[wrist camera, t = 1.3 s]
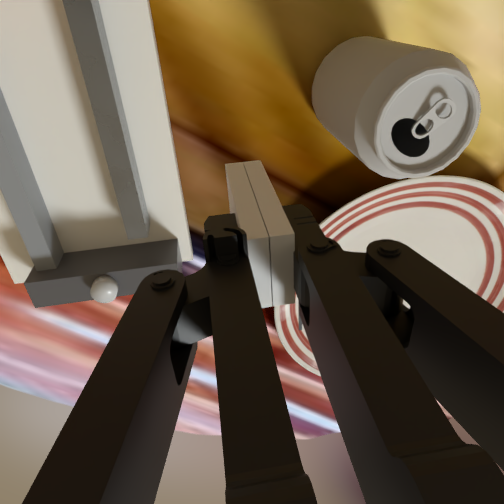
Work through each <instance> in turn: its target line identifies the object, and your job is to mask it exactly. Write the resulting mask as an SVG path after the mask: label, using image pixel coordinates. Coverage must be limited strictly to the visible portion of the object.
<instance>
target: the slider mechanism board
mask: <svg viewBox="0 0 504 504" xmlns="http://www.w3.org/2000/svg"><path fill="white" fill-rule="evenodd" d="M98 1H99V5H100V9H101V14H102V18H103V22H104V26H105V31H106V35H107V39H108V44H109V48H110V52H111V56H112V61H113V65H114V69H115V74H116V78H117V82H118V86H119V91H120V95H121V99H122V104H123V108H124V112H125V116H126V121H127V125H128V129H129V134H130V138H131V142H132V147H133V151H134V155H135V159H136V164H137V168H138V172H139V177H140V181H141V185H142V189H143V194H144V198H145V202H146V207H147V211H148V215H149V219H150V229H149V235H148V237H146V238H138V239H130V240H128V238H127V234H126V230H125V227H124V223H123V219H122V216H121V212H120V209H119V205H118V201H117V198H116V194H115V190H114V187H113V183H112V179H111V176H110V172H109V169H108V165H107V161H106V158H105V154H104V150H103V147H102V143H101V139H100V136H99V132H98V129H97V125H96V121H95V118H94V114H93V110H92V107H91V103H90V99H89V96H88V92H87V88H86V85H85V81H84V78H83V74H82V70H81V67H80V63H79V59H78V56H77V52H76V48H75V45H74V41H73V38H72V34H71V30H70V27H69V23H68V19H67V16H66V12H65V8H64V5H63V1H62V0H0V255H1V257H2V259H3V261H4V263H5V265H6V267H7V269H8V271H9V273H10V275H11V277H12V279H13V281H14V283H15V284H16V283H24V285H25V287H26V289H27V292H28V294H29V296H30V298H31V300H32V302H33V304H34V306H35V308H38V307H45V306H52V305H59V304H67V303H74V302H81V301H88V300H95V301H97V302H100V303H109V302H112V301H113V300H114V299H115V298H116V297H117V296H125V295H132V294H135V292H136V290H137V288H138V286H139V284H140V283H141V281H142V280H143V279H144V278H145V277H146V276H148V275H149V274H151V273H153V272H156V271H159V270H167V269H170V270H177V271H179V272H181V273H182V261H190V260H193V250H192V244H191V239H190V233H189V227H188V222H187V216H186V210H185V204H184V199H183V193H182V187H181V181H180V176H179V170H178V164H177V159H176V153H175V147H174V141H173V136H172V130H171V124H170V118H169V113H168V107H167V101H166V96H165V90H164V84H163V78H162V73H161V67H160V61H159V56H158V50H157V44H156V38H155V33H154V27H153V21H152V15H151V10H150V4H149V0H98Z"/></svg>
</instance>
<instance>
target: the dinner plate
mask: <svg viewBox="0 0 504 504" xmlns="http://www.w3.org/2000/svg"><path fill="white" fill-rule="evenodd" d="M319 226H320V228H321V230H322V231H323V233H324V235H325V236H326V237H327V238H331V239H333V240H335V241H336V242H337V243H338V244H339V245H340V246H341V248H342V249H343V250H344V251H350V252H364V253H366V248H367V246H368V245H369V243H371V242H373V241H375V240H381V239H391V240H395V241H399V242H401V243H403V244H405V245H407V246H409V247H410V248H411V249H413V250H414V251H416V252H417V253H419V254H420V255H421V256H423V257H424V258H426V259H427V260H429V261H430V262H431V263H433V264H434V265H436V266H437V267H439V268H440V269H441V270H443V271H444V272H446V273H447V274H449V275H450V276H451V277H453V278H454V279H456V280H457V281H459V282H460V283H462V284H463V285H464V286H466V287H467V288H469V289H470V290H472V291H473V292H474V293H476V294H477V295H479V296H480V297H482V298H483V299H484V300H486V301H487V302H489V303H490V304H492V305H493V306H494V307H496V308H497V309H499V310H500V311H502V312H503V313H504V192H502V191H501V190H499V189H498V188H496V187H494V186H492V185H490V184H488V183H485V182H483V181H479V180H476V179H472V178H467V177H461V176H448V175H438V176H424V177H418V178H411V179H407V180H402V181H398V182H395V183H392V184H388V185H385V186H383V187H380V188H377V189H375V190H373V191H370V192H368V193H366V194H364V195H362V196H360V197H358V198H356V199H355V200H353V201H351V202H349V203H347V204H346V205H344V206H343V207H341V208H340V209H338V210H337V211H335V212H334V213H333V214H331V215H330V216H329V217H327V218H326V219H325V220H324V221H322V222H321V223H320V224H319ZM403 304H404V305H405V306H406V307H407V308H409V309H410V305H409V304H408V303H407V302H406V301H405V300H404V299H403ZM274 319H275V326H276V329H277V333H278V336H279V338H280V341H281V343H282V344H283V346H284V348H285V349H286V351H287V352H288V353H289V354H290V356H291V357H292V358H293V359H294V360H295V361H296V362H297V363H299V364H300V365H301V366H302V367H304V368H305V369H307V370H309V371H310V372H312V373H314V374H316V375H318V376H321V375H320V372H319V369H318V366H317V363H316V360H315V358H314V355H313V352H312V349H311V346H310V344H309V341H308V338H307V335H306V332H305V329H304V327H303V324H302V330H299V320H298V297H297V295H296V292H295V303H294V304H287V305H280V306H274Z"/></svg>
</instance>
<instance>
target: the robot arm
mask: <svg viewBox="0 0 504 504" xmlns="http://www.w3.org/2000/svg"><path fill="white" fill-rule="evenodd" d="M225 167H226V177H227V186H228V195H229V205H230V214H223V215H215V216H209V217H208V218H207V220H206V221H205V223H204V230H205V235H204V237H203V245H204V252H205V258H206V264H205V266H204V267H203V268H202V269H201V270H199V271H198V272H196V273H194V274H191V275H189V276H186V277H184V275H183V274H182V273H181V272H179V271H177V270H170V269H167V270H159V271H156V272H153V273H151V274H149V275H148V276H146V277H145V278H144V279H143V280H142V281H141V283H140V284H139V286H138V288H137V290H136V292H135V294H134V296H133V298H132V299H131V301H130V303H129V305H128V307H127V309H126V311H125V312H124V314H123V316H122V318H121V320H120V322H119V324H118V326H117V327H116V329H115V331H114V333H113V335H112V337H111V339H110V340H109V342H108V344H107V346H106V348H105V350H104V352H103V354H102V355H101V357H100V359H99V361H98V363H97V365H96V367H95V368H94V370H93V372H92V374H91V376H90V378H89V380H88V381H87V383H86V385H85V387H84V389H83V391H82V393H81V395H80V396H79V398H78V400H77V402H76V404H75V406H74V408H73V409H72V411H71V413H70V415H69V417H68V419H67V421H66V423H65V424H64V426H63V428H62V430H61V432H60V434H59V436H58V438H57V439H56V441H55V443H54V445H53V447H52V449H51V451H50V452H49V454H48V456H47V458H46V460H45V462H44V464H43V466H42V467H41V469H40V471H39V473H38V475H37V477H36V479H35V480H34V482H33V484H32V486H31V488H30V490H29V492H28V494H27V495H26V497H25V499H24V501H23V503H22V504H154V501H155V498H156V494H157V490H158V487H159V483H160V479H161V476H162V473H163V469H164V465H165V462H166V458H167V455H168V451H169V447H170V443H171V440H172V437H173V433H174V429H175V426H176V422H177V419H178V415H179V411H180V408H181V404H182V401H183V397H184V394H185V390H186V386H187V383H188V379H189V376H190V372H191V368H192V365H193V361H194V358H195V354H196V350H197V341H199V340H202V339H204V338H206V337H209V336H211V335H213V344H214V355H215V366H216V378H217V389H218V400H219V411H220V422H221V433H222V444H223V456H224V466H225V478H226V490H225V495H226V504H317V501H316V497H315V493H314V490H313V487H312V483H311V481H310V479H309V477H308V475H307V474H305V472H304V470H303V466H302V463H301V460H300V456H299V451H298V448H297V444H296V440H295V436H294V432H293V428H292V424H291V420H290V416H289V413H288V409H287V405H286V401H285V397H284V393H283V389H282V385H281V381H280V377H279V374H278V370H277V366H276V362H275V358H274V354H273V350H272V346H271V342H270V338H269V335H268V331H267V327H266V323H265V319H264V315H263V311H262V308H266V307H272V304H273V306H280V305H287V304H294V303H295V292H296V295H297V297H298V320H299V330H302V324H303V327H304V329H305V332H306V335H307V338H308V341H309V344H310V346H311V349H312V352H313V355H314V358H315V360H316V363H317V366H318V369H319V372H320V375H321V377H322V380H323V383H324V386H325V389H326V392H327V394H328V397H329V400H330V403H331V406H332V408H333V411H334V414H335V417H336V420H337V423H338V425H339V428H340V431H341V434H342V437H343V440H344V442H345V445H346V448H347V451H348V454H349V456H350V459H351V462H352V465H353V468H354V471H355V473H356V476H357V479H358V482H359V485H360V487H361V490H362V493H363V496H364V499H365V502H366V504H504V475H503V473H502V472H501V470H500V469H499V467H498V466H497V464H498V465H499V466H500V467H501V469H502V470H503V471H504V313H503V312H502V311H500V310H499V309H497V308H496V307H494V306H493V305H492V304H490V303H489V302H487V301H486V300H484V299H483V298H482V297H480V296H479V295H477V294H476V293H474V292H473V291H472V290H470V289H469V288H467V287H466V286H464V285H463V284H462V283H460V282H459V281H457V280H456V279H454V278H453V277H451V276H450V275H449V274H447V273H446V272H444V271H443V270H441V269H440V268H439V267H437V266H436V265H434V264H433V263H431V262H430V261H429V260H427V259H426V258H424V257H423V256H421V255H420V254H419V253H417V252H416V251H414V250H413V249H411V248H410V247H409V246H407V245H405V244H403V243H401V242H399V241H395V240H391V239H381V240H375V241H373V242H371V243H369V245H368V246H367V248H366V253H364V252H350V251H344V250H343V249H342V248H341V246H340V245H339V244H338V243H337V242H336V241H335V240H333V239H331V238H327V237H326V236H325V235H324V233H323V231H322V230H321V228H320V226H319V225H318V223H317V222H316V220H315V218H314V217H313V215H312V213H311V211H310V210H309V209H308V208H307V207H305V206H303V205H302V204H296V205H288V206H281V204H280V201H279V199H278V197H277V195H276V193H275V191H274V189H273V186H272V184H271V182H270V180H269V178H268V176H267V174H266V171H265V169H264V167H263V165H262V163H261V161H260V160H258V161H249V162H243V163H242V162H240V163H231V164H225ZM403 299H404V300H405V301H406V302H407V303H408V304H409V305H410V309H409V308H407V307H406V306H405V305H404V304H403ZM434 397H435V398H436V399H435V398H434ZM436 400H437V401H438V402H439V403H440V404H441V405H442V406H443V407H444V408H445V409H446V410H447V411H448V412H449V413H450V414H451V415H452V417H453V418H454V419H455V420H456V421H457V422H458V423H459V424H460V425H461V426H462V427H463V428H464V429H465V430H466V431H467V432H468V434H470V436H471V437H472V438H473V439H474V440H475V441H476V442H477V443H478V444H479V445H480V446H481V447H482V448H481V447H480V446H478V445H473V444H466V443H465V442H463V441H462V440H461V439H460V437H459V436H458V435H457V433H456V432H455V430H454V428H453V427H452V425H451V424H450V422H449V420H448V419H447V417H446V416H445V414H444V412H443V411H442V409H441V408H440V406H439V404H438V403H437V401H436ZM495 462H496V463H497V464H496V463H495Z"/></svg>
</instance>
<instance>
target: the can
mask: <svg viewBox="0 0 504 504" xmlns="http://www.w3.org/2000/svg"><path fill="white" fill-rule="evenodd" d="M312 105H313V108H314V111H315V114H316V117H317V118H318V120H319V121H320V122H321V123H322V125H323V126H324V127H325V128H326V129H327V130H328V131H329V132H330V133H331V134H332V135H333V136H334V137H335V138H337V139H338V140H339V141H340V142H341V143H342V144H343V145H344V146H345V147H346V148H347V149H349V150H350V151H351V152H352V153H353V154H354V155H355V156H356V157H357V158H358V159H359V160H361V161H362V162H363V163H364V164H365V165H366V166H367V167H368V168H369V169H371V170H373V171H374V172H376V173H378V174H380V175H381V176H383V177H389V178H395V179H404V178H418V177H424V176H429V175H431V174H433V173H436V172H438V171H440V170H442V169H444V168H445V167H446V166H448V165H449V164H450V163H452V162H453V161H454V160H455V159H457V158H458V157H459V155H460V154H461V153H462V152H463V151H464V149H465V148H466V147H467V146H468V144H469V143H470V141H471V139H472V137H473V135H474V133H475V131H476V129H477V126H478V122H479V117H480V112H481V104H480V95H479V91H478V89H477V87H476V85H475V83H474V80H473V78H472V76H471V74H470V72H469V70H468V68H467V66H466V65H465V64H464V63H463V62H461V61H460V60H459V59H458V58H456V57H455V56H454V55H453V54H451V53H447V52H443V51H439V50H435V49H430V48H425V47H420V46H415V45H410V44H405V43H400V42H395V41H390V40H385V39H380V38H375V37H370V36H362V37H355V38H351V39H349V40H347V41H345V42H343V43H341V44H339V45H337V46H336V47H335V48H334V49H333V50H332V51H331V52H330V53H329V54H328V55H327V56H326V57H325V58H324V60H323V61H322V63H321V65H320V66H319V68H318V70H317V71H316V74H315V78H314V82H313V86H312Z"/></svg>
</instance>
